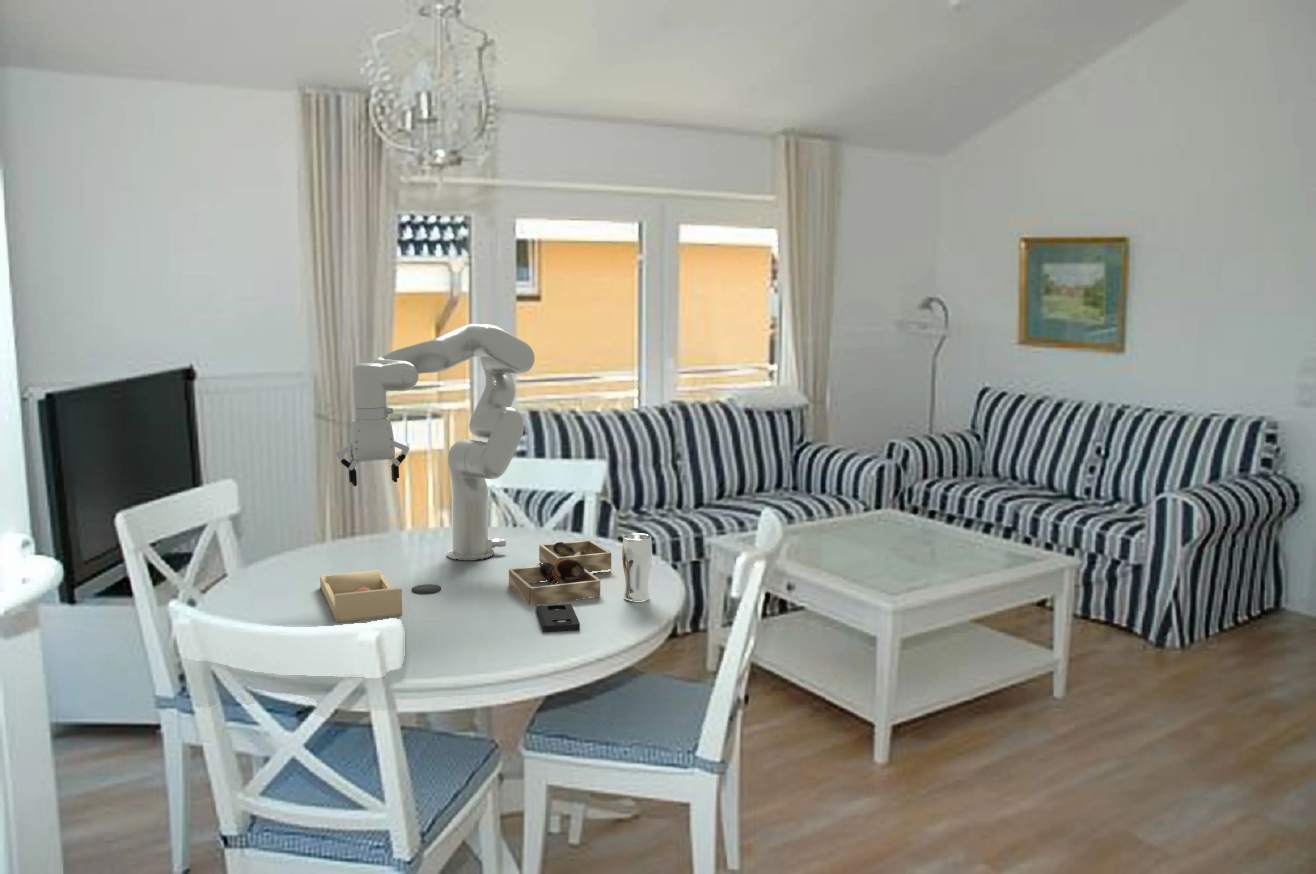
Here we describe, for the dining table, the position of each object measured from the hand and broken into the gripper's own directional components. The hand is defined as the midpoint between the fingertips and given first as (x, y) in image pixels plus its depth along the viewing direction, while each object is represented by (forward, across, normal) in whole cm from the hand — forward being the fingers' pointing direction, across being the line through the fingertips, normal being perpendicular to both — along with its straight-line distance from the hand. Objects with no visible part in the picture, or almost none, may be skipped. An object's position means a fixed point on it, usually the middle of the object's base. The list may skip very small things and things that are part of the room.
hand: (374, 483), depth 245 cm
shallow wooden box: (+25, -36, +27) cm, 52 cm away
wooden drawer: (+27, +8, +18) cm, 34 cm away
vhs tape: (+25, -29, +49) cm, 62 cm away
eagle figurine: (+26, -46, +9) cm, 54 cm away
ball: (+21, +8, +25) cm, 33 cm away
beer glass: (+25, -52, +40) cm, 71 cm away
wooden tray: (+26, -48, +9) cm, 55 cm away
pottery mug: (+25, -39, +26) cm, 53 cm away
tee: (+24, -8, +15) cm, 29 cm away
